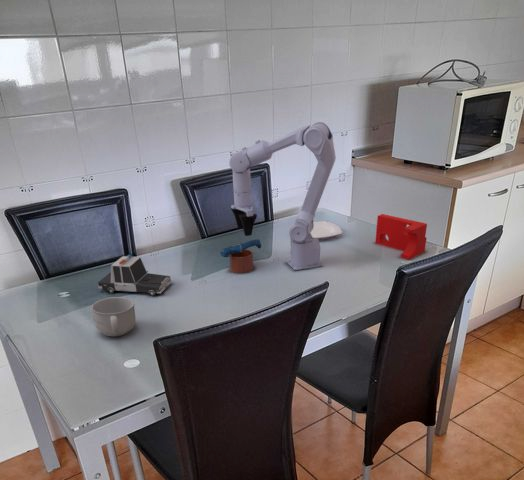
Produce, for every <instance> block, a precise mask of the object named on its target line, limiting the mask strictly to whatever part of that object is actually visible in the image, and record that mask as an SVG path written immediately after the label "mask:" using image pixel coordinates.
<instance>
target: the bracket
mask: <svg viewBox="0 0 524 480" xmlns="http://www.w3.org/2000/svg"><path fill="white" fill-rule="evenodd" d="M376 218H377V219H376V228H375V229H376V230H375V242H374V243H375V244H376V245H379V246H384V247H388V248H392V249H396V250H399V251H403V252H402V253H401V254H400V259H405V260H412V259H413V258H415V257H417V256H419V255H421V254H422V253H425V252H426V246H427V237H426V234H427V228H428V223H426V222H421V221H417V220H412V219H407V218H403V217H398V216H394V215H388V214H385V213H381V214H379V215H377V217H376Z"/></svg>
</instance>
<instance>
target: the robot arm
mask: <svg viewBox="0 0 524 480" xmlns="http://www.w3.org/2000/svg"><path fill="white" fill-rule="evenodd" d="M333 135H334V134H333V133H332V131H331V129H330V127H329V126H328V125H327V124H326V123H325V122H321V121H319V122H315V123H313V124H312V125H311V124H309V125H306V126H305V125H304V126H302V127H299V128H296V129H294V130H292V131H290V132H288V133H286V134H284V135H282V136H279V137H278V138H276V139H274V140H272V141H270V142H269V141H266V140H264V139H263V140H260V139H258V140H256V141H255V142H254V144H252V145H250V146H248V147H246V146H245V147H242V148H241V150H238V151H237V152H235V153H234V154H232V155H231V156H230V158H229V167H230V169H231V170H232V186H233V187H232V188H233V201H234V202H233V204H231V205H230V210H231V212H232V214H233V216H234V219H235V223H236V227H237V229H238V230H243V233H244V236H245V237H248V236H252V234H253V229H254V225H255V223H256V222H255V221H256V220H257V218H258V215H257V214H256V213H254V208H253V207H254V206H253V196H252V179H251V167H255V166H258V165H260V164H263V163H264V162H267V161H269V160H271V159H272V157H273V154H274V153H276V152H279V151H281V150H284V149H286V148H289V147H291V146H294V145H297V146H300V147H304V146H305V147H306V148H307V149H308V150H309V151H310V152H311V153H312V154H313V156H314V157H315V159H316V161H317V164H316V166H315V170H314V173H313V174H312V178H311V180H310V183H309V186H308V189H307V192H306V194H305V197H304V200H303V203H302V205H301V209H300V211H299V213H298V215H297V217H296V220H295V221H294V223H293V224H291V225H292V226H291V225H290V226H291V228H290V227H289V230H288V235H289V238H290V260H286V264H287V265H288V266H289V267H290V268H292V269H293V270H294V271H301V270H306V269H312V268H313V269H314V268H319V267H321V266H322V264H321V243H320V239H319V240H318V239H317V238H316V237H314V238H313V237H312V235H311V234H310V232H311V231H312V230H313V227H314V224H313V222H314V219H315V217H316V213H317V209H318V206H319V204H320V203H321V202H320V201H321V199H322V197H323V194H324V191H325V188H326V186H327V184H328V181H329V178H330V175H331V173H332V170H333V167H334V165H335V162H336V158H337V157H336V151H335V150H336V149H335V146H334V137H333Z"/></svg>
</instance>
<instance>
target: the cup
mask: <svg viewBox="0 0 524 480" xmlns="http://www.w3.org/2000/svg"><path fill="white" fill-rule="evenodd" d="M228 259H229V269H230V270H229V271H231V272H232V273H235V274H247V273H250V272H252V271H254V269H255V268H254V266H255V265H254V251H252V250H251V249H248V248H247V249H245V250H244V251H242V252H240V253H238V254H234V255H233V254H230V256H229V257H228Z"/></svg>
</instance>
